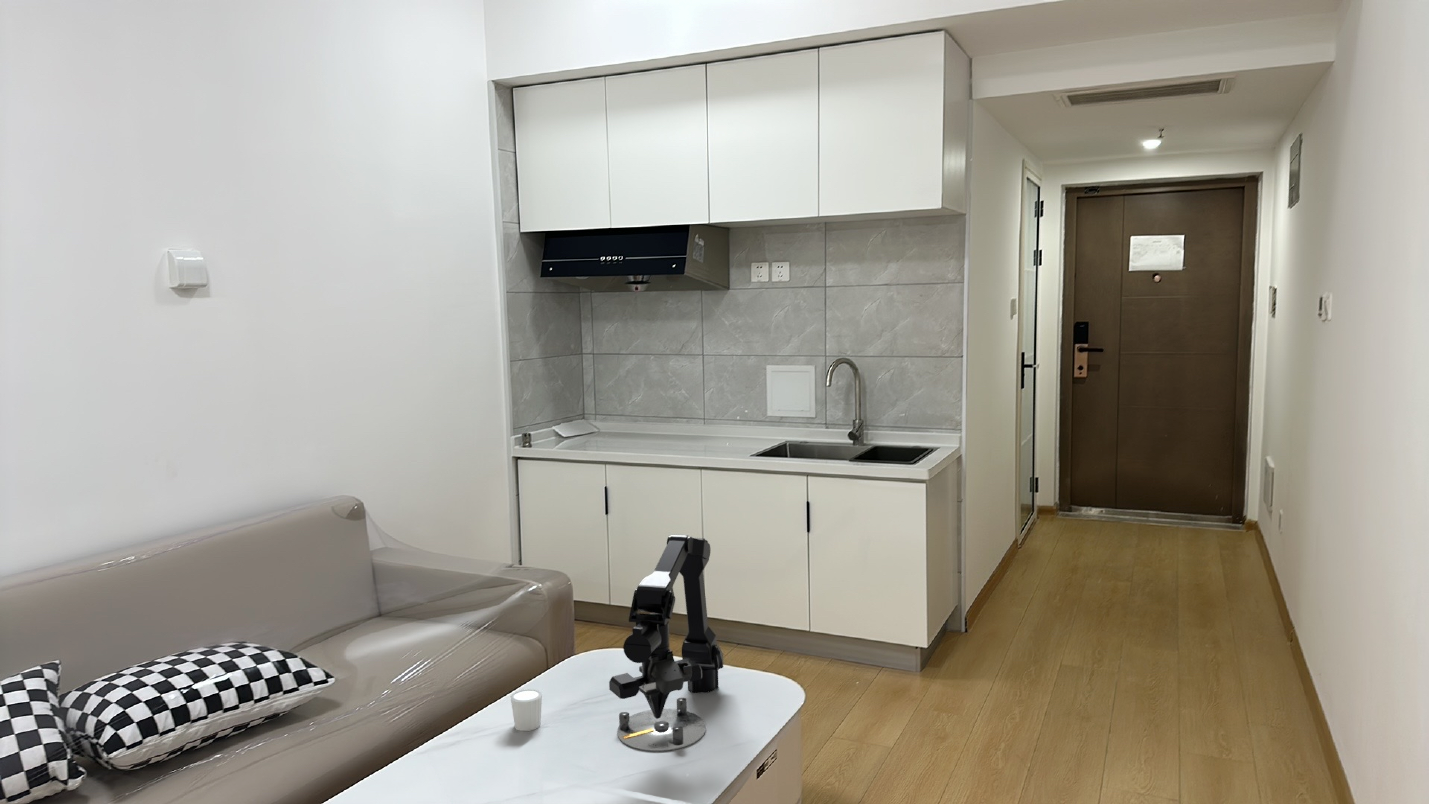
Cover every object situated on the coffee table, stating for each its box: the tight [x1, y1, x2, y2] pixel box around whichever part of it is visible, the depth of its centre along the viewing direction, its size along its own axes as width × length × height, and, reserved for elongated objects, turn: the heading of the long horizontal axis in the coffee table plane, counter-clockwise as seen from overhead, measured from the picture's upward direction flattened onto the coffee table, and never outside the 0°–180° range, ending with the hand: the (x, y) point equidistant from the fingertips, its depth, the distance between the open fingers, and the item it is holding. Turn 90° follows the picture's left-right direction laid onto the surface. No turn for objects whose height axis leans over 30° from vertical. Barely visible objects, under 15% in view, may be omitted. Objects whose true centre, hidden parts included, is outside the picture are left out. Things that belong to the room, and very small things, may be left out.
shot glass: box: [510, 688, 543, 732], centre depth 208 cm, size 7×7×7 cm
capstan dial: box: [617, 697, 707, 752], centre depth 203 cm, size 19×19×4 cm
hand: (657, 717), depth 193 cm, fingers closed
